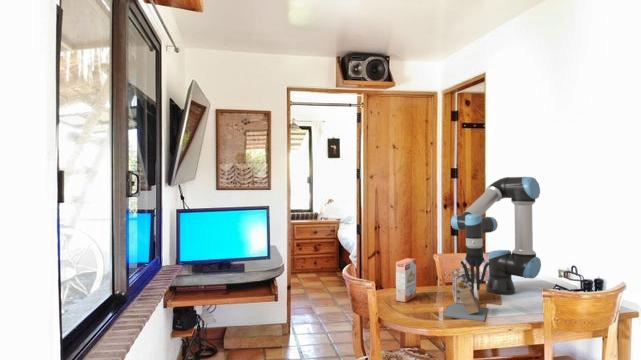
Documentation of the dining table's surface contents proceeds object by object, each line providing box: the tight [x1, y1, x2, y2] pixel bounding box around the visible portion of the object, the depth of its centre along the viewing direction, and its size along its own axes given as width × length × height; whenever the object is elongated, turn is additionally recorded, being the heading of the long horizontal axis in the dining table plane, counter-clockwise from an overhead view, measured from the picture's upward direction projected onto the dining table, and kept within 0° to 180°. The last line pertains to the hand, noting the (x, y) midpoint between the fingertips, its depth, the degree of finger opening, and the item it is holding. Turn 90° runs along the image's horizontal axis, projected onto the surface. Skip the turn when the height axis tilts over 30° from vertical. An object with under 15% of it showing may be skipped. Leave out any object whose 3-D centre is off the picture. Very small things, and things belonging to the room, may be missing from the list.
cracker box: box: [395, 257, 417, 303], centre depth 217 cm, size 14×6×21 cm, turn 143°
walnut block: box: [460, 287, 482, 315], centre depth 192 cm, size 9×5×10 cm, turn 152°
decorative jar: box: [452, 265, 480, 305], centre depth 212 cm, size 12×12×18 cm
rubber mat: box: [442, 303, 489, 323], centre depth 193 cm, size 20×18×1 cm
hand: (475, 296), depth 191 cm, fingers closed
